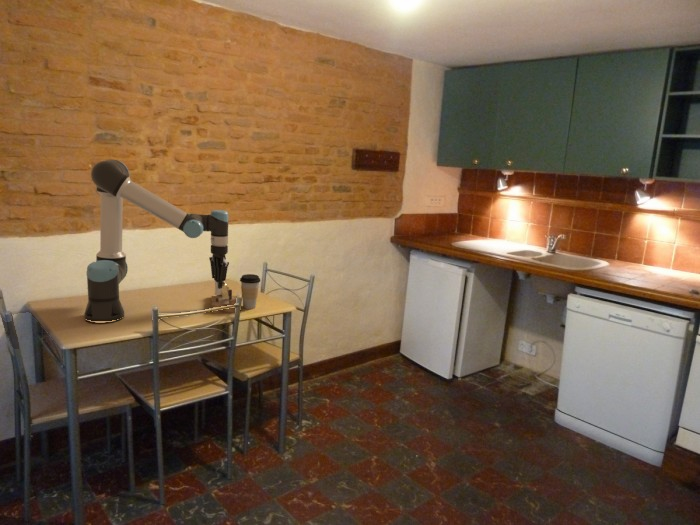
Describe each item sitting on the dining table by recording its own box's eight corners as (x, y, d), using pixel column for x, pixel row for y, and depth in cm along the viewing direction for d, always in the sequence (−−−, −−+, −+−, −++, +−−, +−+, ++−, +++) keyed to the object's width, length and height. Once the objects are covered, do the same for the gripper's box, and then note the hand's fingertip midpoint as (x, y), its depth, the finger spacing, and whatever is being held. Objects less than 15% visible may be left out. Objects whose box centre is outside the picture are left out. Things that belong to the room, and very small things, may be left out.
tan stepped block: (211, 313, 229) (211, 296, 227) (211, 303, 242) (211, 287, 240) (239, 312, 232) (239, 295, 230) (237, 302, 245) (237, 286, 243)
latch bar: (218, 286, 250) (218, 280, 249) (226, 286, 251) (227, 280, 251) (220, 297, 233) (220, 291, 233) (229, 297, 235) (229, 291, 234)
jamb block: (216, 300, 246) (216, 290, 245) (216, 296, 252) (216, 286, 251) (229, 300, 248) (229, 290, 247) (228, 296, 254) (229, 286, 253)
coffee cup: (243, 311, 234) (244, 279, 231) (236, 305, 242) (236, 274, 238) (262, 308, 239) (263, 278, 236) (254, 302, 247) (255, 273, 244)
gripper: (204, 242, 232) (203, 292, 237) (219, 248, 223) (219, 299, 228) (218, 241, 237) (217, 289, 242) (234, 246, 228) (233, 296, 234)
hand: (218, 294), depth 235 cm, fingers closed
